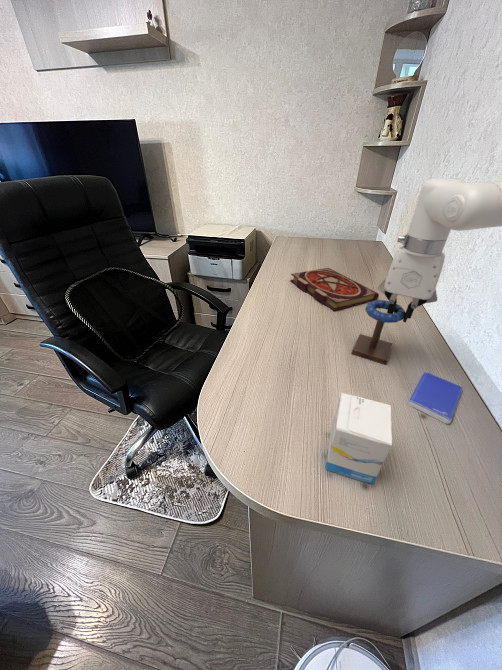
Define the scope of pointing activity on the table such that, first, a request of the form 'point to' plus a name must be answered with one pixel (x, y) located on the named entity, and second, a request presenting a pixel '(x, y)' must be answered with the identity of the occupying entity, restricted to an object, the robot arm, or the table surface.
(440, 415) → the hard drive
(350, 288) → the book
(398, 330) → the table surface
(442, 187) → the robot arm
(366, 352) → the stand
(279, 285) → the table surface
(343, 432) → the ink box
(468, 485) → the table surface
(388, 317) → the blue teething ring
